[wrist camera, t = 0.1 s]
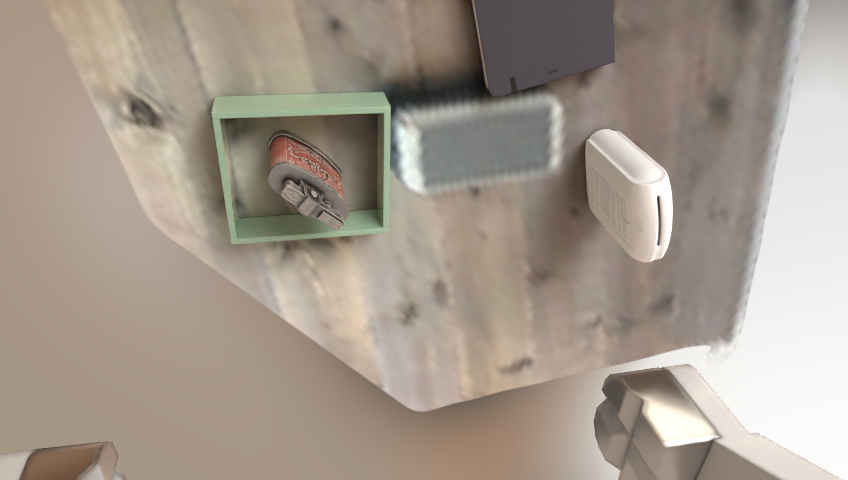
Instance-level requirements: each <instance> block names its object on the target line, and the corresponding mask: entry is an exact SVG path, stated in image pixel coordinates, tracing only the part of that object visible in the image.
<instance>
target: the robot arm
mask: <svg viewBox="0 0 848 480" xmlns="http://www.w3.org/2000/svg"><path fill="white" fill-rule="evenodd" d="M602 391H603V393H604V394H605V396H606V398H607V399H606V400H605V401H603V402H602V403H601V405H599V406H598V407H597V410H596V414H595V419H594V427H595V436H596V440H597V443H598V446H599V448H600V450H601V452H602V454H603V456H604V458H605V460H606V461H608V462H609V463H611V464H612V465H613V466H615V467H616V468H618V469H619V470H620V473H619V478H618V480H842V479H840V478H838V477H837V476H835V475H833V474H831V473H829V472H827V471H826V470H824V469H822V468H820V467H818V466H817V465H815V464H813V463H811V462H809V461H808V460H806V459H804V458H802V457H800V456H799V455H797V454H795V453H793V452H791V451H789V450H787V449H786V448H784V447H782V446H780V445H779V444H777V443H775V442H773V441H771V440H769V439H767V438H766V437H764V436H762V435H760V434H758V433H751V434H749V432H748V431H747V430H746V429H745V428H744V426H743V425H742V424H741V423H740V422H739V420H738V419H737V418H736V417H735V416H734V414H733V413H732V412H731V411H730V409H729V408H728V407H727V406H726V405H725V403H724V402H723V401H722V400H721V399H720V397H719V396H718V395H717V394H716V393H715V392H714V390H713V389H712V388H711V386H710V385H709V384H708V383H707V382H706V380H705V379H704V378H703V377H702V376H701V374H700V373H699V372H698V371H697V370H696V369H695V368H694V367H693V366H691V365H689V364H683V365H676V366H669V367H662V368H652V369H645V370H638V371H631V372H625V373H617V374H611V375H609V376H608V377H607V378H606V379H605V382H604V385H603V388H602ZM117 459H118V455H117V452H116V450H115V447H114V445H113V442H98V443H89V444H79V445H71V446H61V447H52V448H42V449H35V450H27V451H19V452H10V453H1V454H0V480H126V477H125V475H124V474H122V473H120V472H118V471H117V470H115V467H116V463H117Z"/></svg>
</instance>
